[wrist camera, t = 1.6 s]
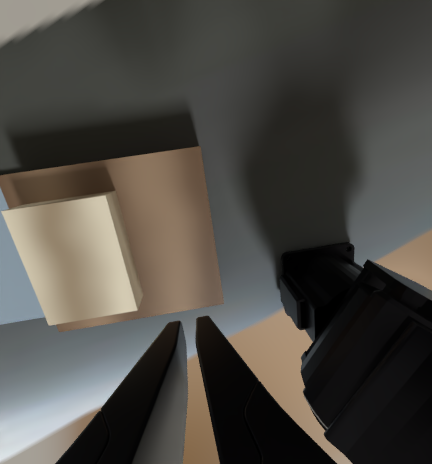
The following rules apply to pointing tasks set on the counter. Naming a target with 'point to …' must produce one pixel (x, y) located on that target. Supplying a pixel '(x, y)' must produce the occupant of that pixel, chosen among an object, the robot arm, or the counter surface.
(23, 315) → the mat
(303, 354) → the robot arm
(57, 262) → the tile
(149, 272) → the plate
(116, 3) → the counter surface
